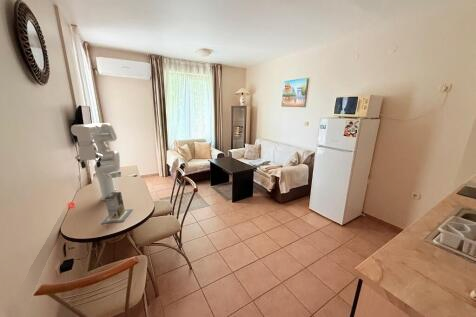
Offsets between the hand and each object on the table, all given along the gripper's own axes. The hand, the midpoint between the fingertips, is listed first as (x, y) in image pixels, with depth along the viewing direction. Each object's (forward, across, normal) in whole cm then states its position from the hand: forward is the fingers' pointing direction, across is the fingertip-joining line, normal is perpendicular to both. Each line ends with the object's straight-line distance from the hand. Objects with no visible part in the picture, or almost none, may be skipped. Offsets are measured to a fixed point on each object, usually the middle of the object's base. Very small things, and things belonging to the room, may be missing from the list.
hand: (91, 167), depth 134 cm
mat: (+34, -16, +11) cm, 39 cm away
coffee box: (+34, -16, +11) cm, 39 cm away
